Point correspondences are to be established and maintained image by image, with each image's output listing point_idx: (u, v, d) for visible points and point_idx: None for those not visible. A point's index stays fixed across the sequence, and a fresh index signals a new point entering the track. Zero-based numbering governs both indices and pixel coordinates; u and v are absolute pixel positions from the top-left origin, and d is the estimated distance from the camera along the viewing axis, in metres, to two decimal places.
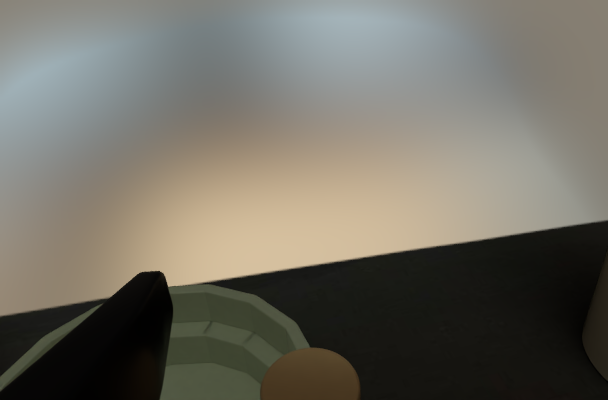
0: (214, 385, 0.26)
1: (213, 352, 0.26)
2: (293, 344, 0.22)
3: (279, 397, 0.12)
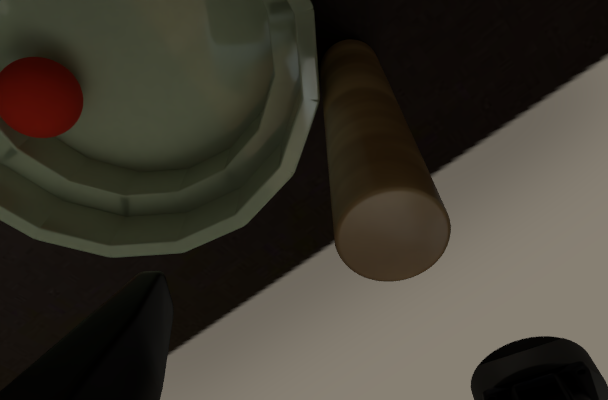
0: None
1: None
2: None
3: (367, 261, 0.11)
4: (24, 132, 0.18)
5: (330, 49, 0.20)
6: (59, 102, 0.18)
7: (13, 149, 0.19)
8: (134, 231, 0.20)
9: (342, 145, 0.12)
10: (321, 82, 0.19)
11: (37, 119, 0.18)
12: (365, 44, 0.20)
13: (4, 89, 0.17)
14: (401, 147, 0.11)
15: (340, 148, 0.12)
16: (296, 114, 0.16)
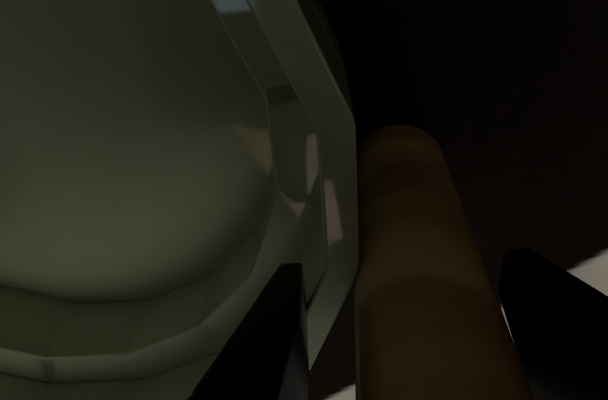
0: None
1: None
2: None
3: None
4: None
5: (369, 140, 0.13)
6: None
7: None
8: None
9: None
10: None
11: None
12: (425, 134, 0.12)
13: None
14: None
15: None
16: (315, 288, 0.09)
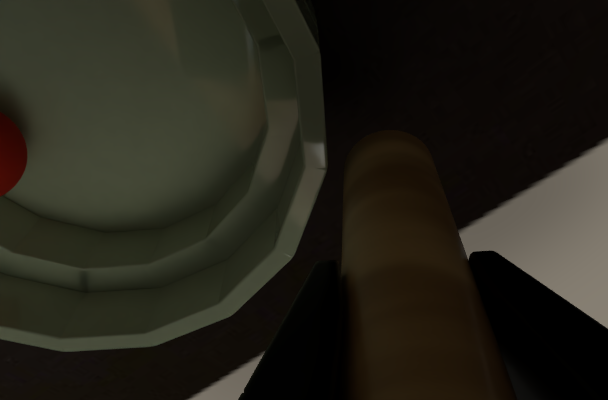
0: None
1: None
2: None
3: None
4: None
5: (361, 144, 0.13)
6: None
7: None
8: (93, 316, 0.16)
9: None
10: (343, 200, 0.12)
11: None
12: (416, 139, 0.13)
13: None
14: None
15: None
16: (296, 185, 0.12)
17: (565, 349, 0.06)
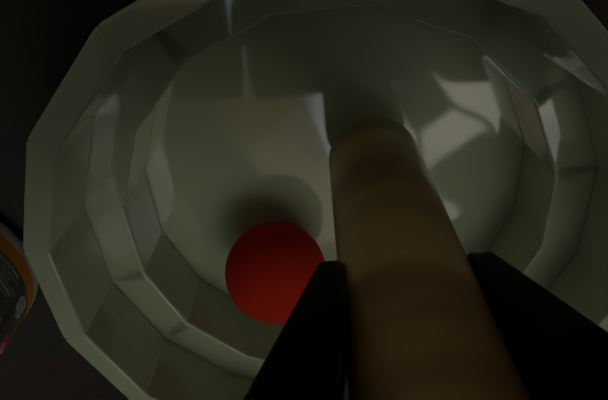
0: (317, 45, 0.13)
1: None
2: (574, 52, 0.09)
3: None
4: None
5: (349, 130, 0.13)
6: None
7: (183, 324, 0.15)
8: None
9: None
10: (332, 189, 0.12)
11: None
12: (403, 128, 0.13)
13: (301, 261, 0.14)
14: None
15: None
16: (600, 317, 0.12)
17: (561, 349, 0.06)
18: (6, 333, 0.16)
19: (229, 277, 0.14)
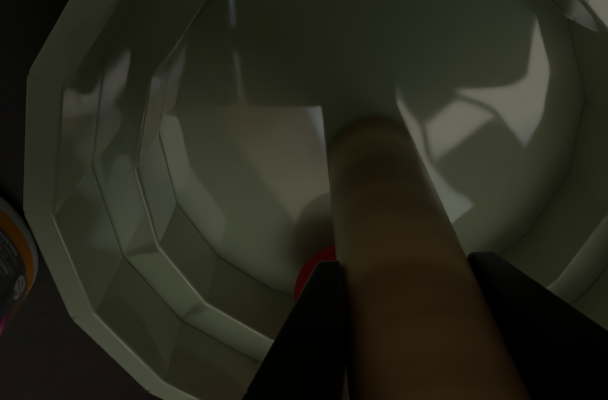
0: None
1: None
2: None
3: None
4: None
5: (347, 130, 0.13)
6: None
7: (202, 303, 0.14)
8: None
9: None
10: (331, 189, 0.12)
11: None
12: (402, 128, 0.13)
13: None
14: None
15: None
16: None
17: (562, 349, 0.06)
18: (4, 315, 0.14)
19: None
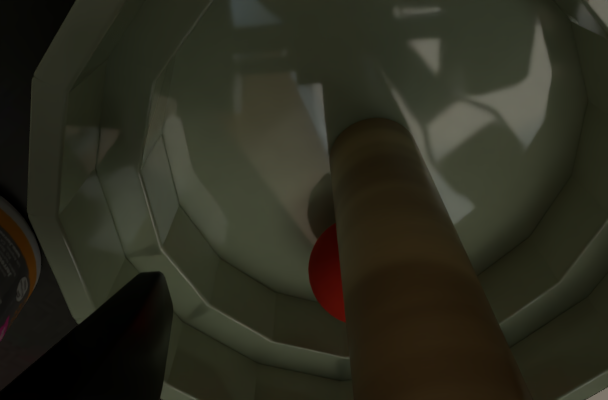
0: None
1: None
2: None
3: None
4: None
5: (350, 131, 0.13)
6: None
7: (204, 305, 0.14)
8: None
9: None
10: (334, 189, 0.12)
11: None
12: (403, 128, 0.13)
13: None
14: None
15: None
16: None
17: None
18: (6, 317, 0.14)
19: None
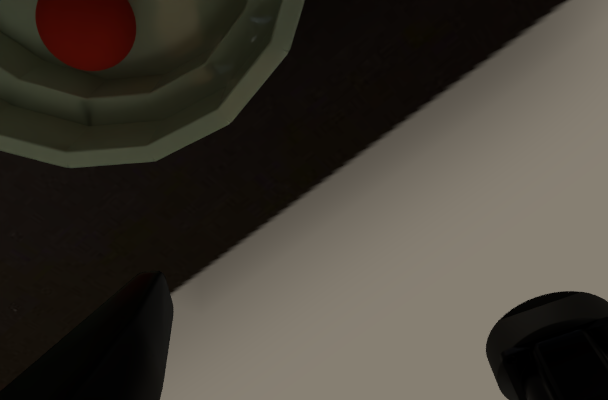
0: None
1: None
2: None
3: None
4: (132, 46, 0.17)
5: None
6: None
7: None
8: (96, 138, 0.16)
9: None
10: None
11: None
12: None
13: (116, 7, 0.16)
14: None
15: None
16: None
17: None
18: None
19: (70, 57, 0.16)
